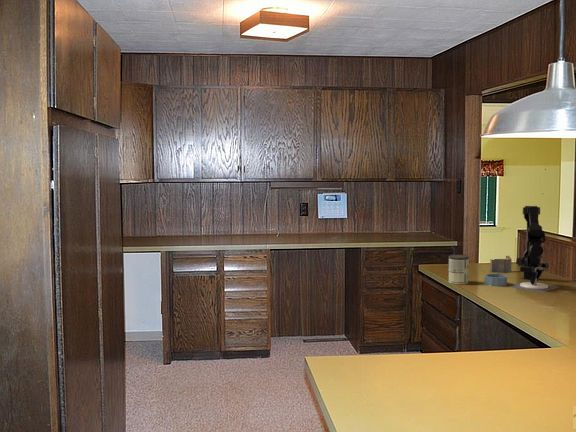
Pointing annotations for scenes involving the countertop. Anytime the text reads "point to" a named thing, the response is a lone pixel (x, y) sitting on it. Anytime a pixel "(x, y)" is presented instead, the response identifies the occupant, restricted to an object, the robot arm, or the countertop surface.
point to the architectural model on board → (501, 265)
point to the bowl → (495, 279)
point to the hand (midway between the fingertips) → (533, 283)
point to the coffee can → (458, 269)
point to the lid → (534, 285)
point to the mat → (533, 289)
